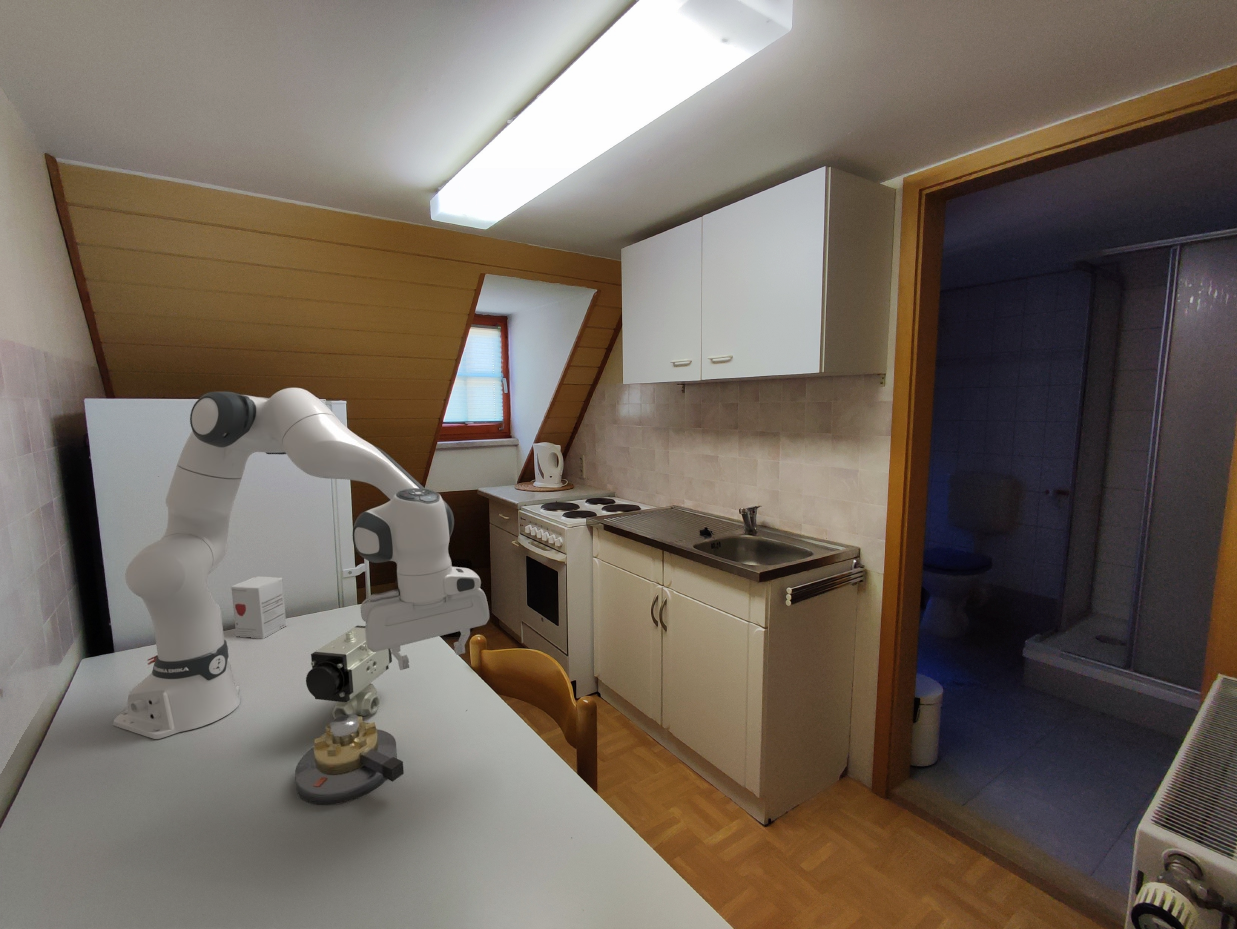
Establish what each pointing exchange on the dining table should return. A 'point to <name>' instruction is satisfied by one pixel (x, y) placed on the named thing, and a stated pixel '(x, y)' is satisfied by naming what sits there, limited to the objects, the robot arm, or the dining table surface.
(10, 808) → the dining table surface
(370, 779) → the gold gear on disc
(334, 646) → the ball valve
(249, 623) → the supplement box
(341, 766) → the lever handle valve
